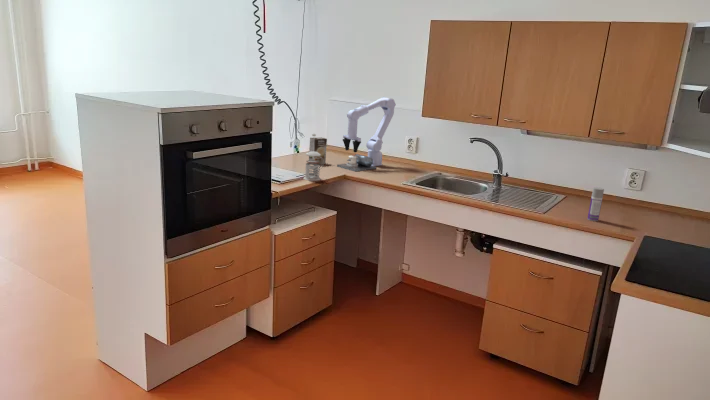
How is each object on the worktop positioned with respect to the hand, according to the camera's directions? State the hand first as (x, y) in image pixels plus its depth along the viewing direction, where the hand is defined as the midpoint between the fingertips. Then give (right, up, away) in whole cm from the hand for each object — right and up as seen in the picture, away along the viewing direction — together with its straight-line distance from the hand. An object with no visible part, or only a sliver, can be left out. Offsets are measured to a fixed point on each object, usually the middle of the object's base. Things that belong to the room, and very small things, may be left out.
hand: (351, 151), depth 329 cm
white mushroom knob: (+1, -10, -4) cm, 10 cm away
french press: (-21, -19, -39) cm, 48 cm away
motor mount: (+4, -10, -2) cm, 11 cm away
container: (+113, -40, -86) cm, 148 cm away
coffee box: (-22, -7, +4) cm, 23 cm away
